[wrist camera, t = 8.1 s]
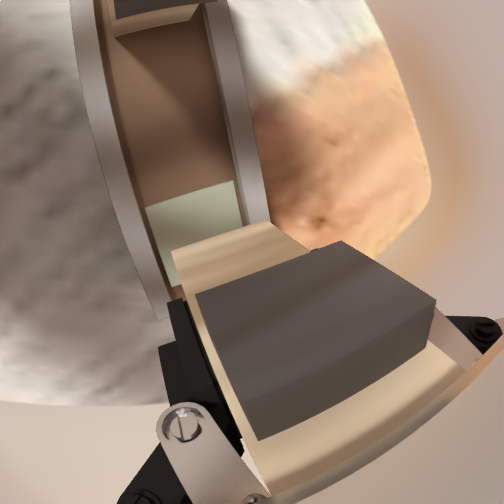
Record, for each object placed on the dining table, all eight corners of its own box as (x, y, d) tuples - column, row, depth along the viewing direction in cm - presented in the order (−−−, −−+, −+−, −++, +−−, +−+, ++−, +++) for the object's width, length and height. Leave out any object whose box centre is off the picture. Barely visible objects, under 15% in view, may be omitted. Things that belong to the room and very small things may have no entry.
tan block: (161, 222, 11) (274, 502, 2) (260, 191, 12) (505, 337, 3) (198, 329, 13) (300, 543, 5) (280, 299, 14) (429, 466, 6)
